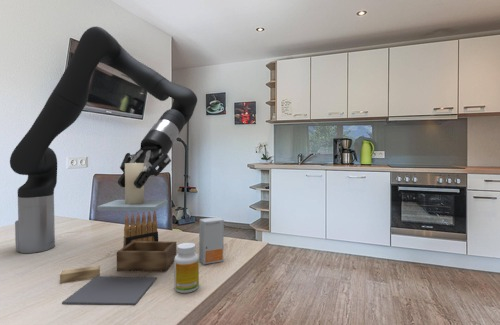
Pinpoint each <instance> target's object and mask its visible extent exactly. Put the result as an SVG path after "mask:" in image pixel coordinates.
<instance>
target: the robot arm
mask: <svg viewBox="0 0 500 325" xmlns="http://www.w3.org/2000/svg"><path fill="white" fill-rule="evenodd" d="M73 52H74V53H73V55H72V57H71V59H70V61H69V63H68V65H67V66H66V68H65V70H64V72H63V73H62V75H61V78H60V79H59V81H58V83H57V84H56V86H55V87H54V89H53V90H52V92H51V94H50V95H49V97H48V98H47V100H46V102H45V104H44V106H43V108H42V109H41V111H40V112H39V114H38V115H37V117H36V119H35V120H34V122H33V124H32V125H31V126H30V128H29V130H28V131H27V132H26V133H25V135H24V136H23V137H22V139H21V140H20V141H19V143H18V144H17V145H16V146H15V148H14V149H13V151H12V153H11V154H10V157H9V165H10V168H11V170H12V171H13V172H14V173H15V174H17V175H23V176H27V179H26V181H25V183H24V184H22V185H21V186H19V187H18V188H17V216H18V217H17V219H18V220H15V222H14V232H15V234H14V236H15V237H14V238H15V252H18V253H21V254H33V253H39V252H44V251H49V250H50V249H53V248H54V247H55V246H56V238H55V236H56V235H55V234H56V231H55V229H56V228H55V226H56V224H55V195H54V194H55V188H56V186H57V181H58V158H57V155H56V153H55V151H54V149H52V148H50V145H51V144H52V142H53V141H54V140H55V139H56V138H57V137H58V136H59V135H60V134H61V133H63V132H64V131H66V130H67V129H68V128H69V127H70V126H71V125H73V124H74V123H75V121H77V120H78V119H79V117H80V116H81V114H82V112H83V111H84V110H85V107H86V106H87V103H88V99H89V94H90V87H91V79H92V76H93V74H94V72H95V70H96V68H97V67H98V65H99V64H100V63H101V64H104V65H106V66H108V67H110V68H112V69H114V70H116V71H118V72H120V73H122V74H124V76H127V77H128V78H129V79H130V80H132V82H134V83H135V84H136V85H137V86H139V87H140V88H141V89H143V90H144V91H146V93H148V94H150V96H152V97H154V98H155V99H157V100H159V101H160V102H164V101H167V100H168V99H169V98H171V99H172V100H173V101H172V105H171V107H170V109H168V110H165V111H164V112H163V113H162V114H161V116H160V118H159V119H158V120H157V121H156V123H154V124H153V125H152V127H151V128H150V129H149V130H148V132H147V134H145V136H144V137H143V139H142V140H141V142H140V148H139V150H137V151H136V152H135V153H134V154H133V153H132V154H131V153H130V152H127V153H125V155H124V158H123V159H122V162H121V165H120V167H119V168H120V170H121V171H122V174H121V175H120V177H119V179H118V180H117V184H118V186H120V187H121V188H125V163H144V168H143V172H141V173H140V174H139V175H138V177H137V178H136V180H135V181H134V185H135V186H136V187H137V188H141V187H142V186H143V185H144V186H145V184H146V182H147V180H148V179H149V178H151V177H152V176H154V177H157V176H159V174H160V173H161V172H162V171H163V170H164V169H165V168H166V167H167V166H168V165H169V164H170V163H171V162H172V159H171V158H170V156H169V155H168V154H169V153H170V151H171V149H172V147H173V146H174V145H175V143H176V141H177V139H178V137H179V135H180V133H181V131H182V130H183V128H184V127H185V125H187V124H188V122H189V121H190V119H191V118H192V117H193V114H194V111H195V109H196V106H197V103H198V96H197V95H196V93H195V92H194V91H193V90H192V89H190V88H188V87H186V86H184V85H181V84H179V83H176V82H174V81H170V80H169V79H168V78H166V77H164V76H163V75H162V74H161V73H159V72H158V71H156V70H155V69H153V68H151V67H149V66H147V65H146V64H144V63H142V62H141V61H139V60H138V59H136V58H134V57H133V56H132V55H131V54H130V53H129V52H128V51H127V50H126V49H125V48H124V47H123V46H121V44H120V43H119V42H118V41H117V39H116V38H115V37H114V36H113V35H112V34H110V32H108V31H107V30H106V29H104V28H103V27H101V26H91V27H89V28H87V29H86V30H85V31H84V32H83V34H82V35H81V36H80V39H79V41H78V43H77V46H76V47H75V50H74V51H73Z"/></svg>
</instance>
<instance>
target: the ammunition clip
mask: <svg viewBox="0 0 500 325" xmlns="http://www.w3.org/2000/svg"><path fill="white" fill-rule="evenodd" d="M142 212H143V213H142V215H141V216H140V213H139V212H137V214H136V219H135V215H134V213H132V214H131V216H130V217H129V215H128V214H125V217H124V229H123V247H125V246H126V245H128V244H129V243H131V242H132V241H159V230H158V221H157V218H158V217H157V212H156V211H152V214H151V211H147V215H146V214H145V211H142ZM146 216H147V218H146ZM129 218H130V219H129ZM129 220H130V221H129ZM123 247H122V248H123Z"/></svg>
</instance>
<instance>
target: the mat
mask: <svg viewBox="0 0 500 325" xmlns="http://www.w3.org/2000/svg"><path fill="white" fill-rule="evenodd" d="M157 279H158V276H120V275H119V276H117V275H116V276H107V275H105V276H104V275H101V276H100V275H99V276H96V277H95V278H93V279H90V280H89V281H88V282H87V283H86V284H84V285H83V286H82V287H80V288H79V289H77V290H76V291H74V293H72V294H71V295H69V296H68V297H67V298H65V299H64V300H63V301H61V305H90V306H91V305H94V306H95V305H96V306H97V305H98V306H99V305H100V306H104V305H105V306H106V305H107V306H110V305H111V306H113V305H114V306H136V305H137V304H138V303H139V301H140V300H141V299H142V298H143V296H144V295H145V294H146V292H147V291H148V290H149V289H150V288H151V286H152V285H153V284H154V283H155V282H156V280H157Z"/></svg>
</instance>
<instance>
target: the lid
mask: <svg viewBox="0 0 500 325" xmlns="http://www.w3.org/2000/svg"><path fill="white" fill-rule="evenodd" d="M143 168H144V163H125V187H124V199H115V200H112V201H109V202H106V203H103V204H100V205H97V207H96V212H97V211H100V212H103V211H104V212H107V211H108V212H110V211H113V212H120V211H121V212H128V211H129V212H149V211H150V212H154V211H155V212H156V211H158V210H160V209H161V208H163V207H165V206H166V205H168V201H169V200H168V199H145V184H144V185H143V186H142V187H141V188H137V187H136V186H135V185H134V181H135V180H136V178H137V177H138V175H139V174H140V173H141V172H143Z"/></svg>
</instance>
